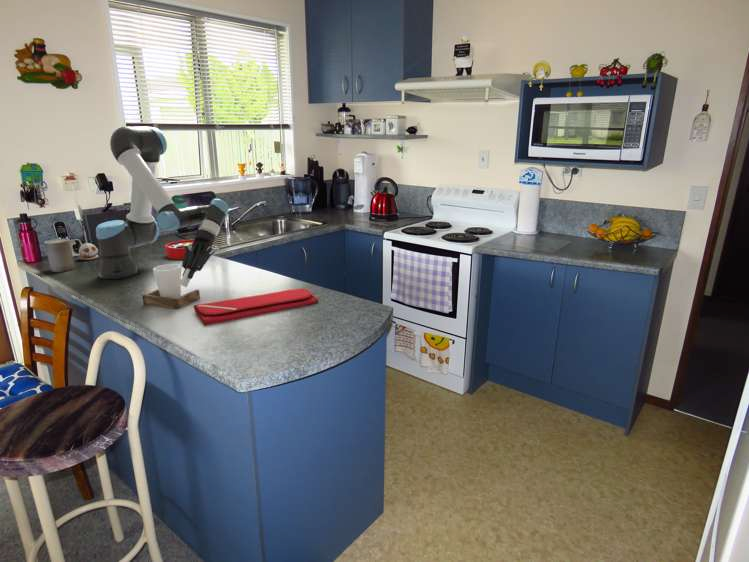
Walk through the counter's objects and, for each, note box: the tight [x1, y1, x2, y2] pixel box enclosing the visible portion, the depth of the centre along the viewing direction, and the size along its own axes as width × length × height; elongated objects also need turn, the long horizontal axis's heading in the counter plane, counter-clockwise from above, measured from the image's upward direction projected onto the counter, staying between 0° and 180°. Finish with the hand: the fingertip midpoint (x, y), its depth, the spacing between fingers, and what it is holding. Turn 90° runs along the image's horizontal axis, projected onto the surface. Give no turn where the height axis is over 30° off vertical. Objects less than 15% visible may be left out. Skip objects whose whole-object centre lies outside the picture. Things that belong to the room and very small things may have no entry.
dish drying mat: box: [193, 288, 319, 326], centre depth 171 cm, size 16×41×4 cm, turn 122°
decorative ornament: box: [78, 229, 100, 261], centre depth 239 cm, size 8×8×15 cm
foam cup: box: [152, 263, 182, 299], centre depth 177 cm, size 10×9×13 cm
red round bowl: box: [164, 239, 195, 260], centre depth 247 cm, size 20×6×20 cm
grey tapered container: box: [44, 238, 76, 273], centre depth 220 cm, size 10×10×15 cm
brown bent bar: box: [141, 288, 201, 310], centre depth 178 cm, size 12×15×4 cm
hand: (183, 285), depth 182 cm, fingers closed
